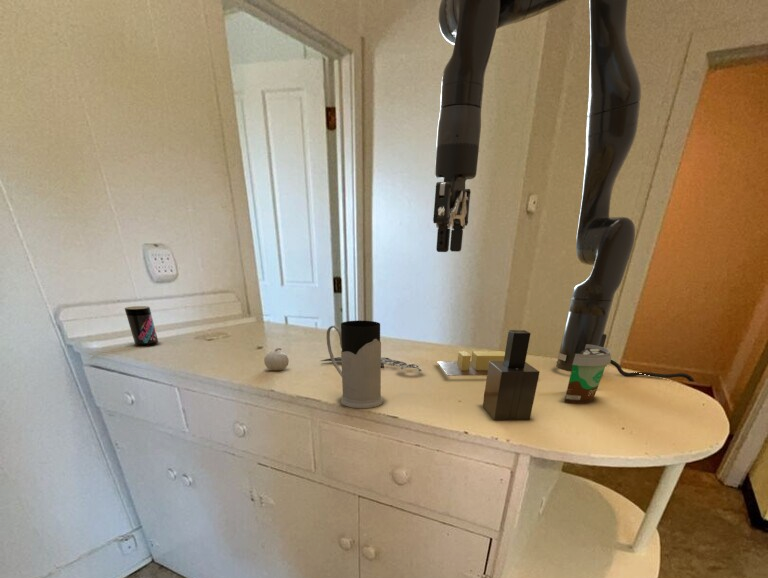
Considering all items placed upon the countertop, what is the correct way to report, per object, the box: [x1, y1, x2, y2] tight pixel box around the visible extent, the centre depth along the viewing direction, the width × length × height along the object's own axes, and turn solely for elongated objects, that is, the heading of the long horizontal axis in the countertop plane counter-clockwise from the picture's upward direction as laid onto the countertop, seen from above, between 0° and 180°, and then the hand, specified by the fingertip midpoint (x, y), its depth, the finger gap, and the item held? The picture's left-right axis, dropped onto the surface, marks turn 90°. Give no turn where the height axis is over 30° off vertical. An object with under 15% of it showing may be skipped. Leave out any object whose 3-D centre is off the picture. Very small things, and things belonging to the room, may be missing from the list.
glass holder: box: [326, 320, 384, 409], centre depth 86 cm, size 9×14×15 cm, turn 47°
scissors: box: [320, 356, 423, 372], centre depth 112 cm, size 28×2×10 cm
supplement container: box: [124, 305, 159, 348], centre depth 129 cm, size 7×7×10 cm
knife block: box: [482, 361, 541, 421], centre depth 81 cm, size 7×8×9 cm
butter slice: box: [456, 350, 472, 370], centre depth 107 cm, size 2×5×4 cm, turn 4°
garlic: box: [263, 347, 290, 372], centre depth 108 cm, size 6×5×5 cm
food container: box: [563, 344, 612, 404], centre depth 89 cm, size 12×6×10 cm, turn 148°
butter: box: [470, 350, 505, 370], centre depth 108 cm, size 10×5×4 cm, turn 94°
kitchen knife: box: [503, 329, 532, 370], centre depth 80 cm, size 3×4×15 cm
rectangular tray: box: [437, 360, 488, 377], centre depth 109 cm, size 22×14×1 cm, turn 94°
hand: (449, 251), depth 84 cm, fingers open, 8 cm apart
